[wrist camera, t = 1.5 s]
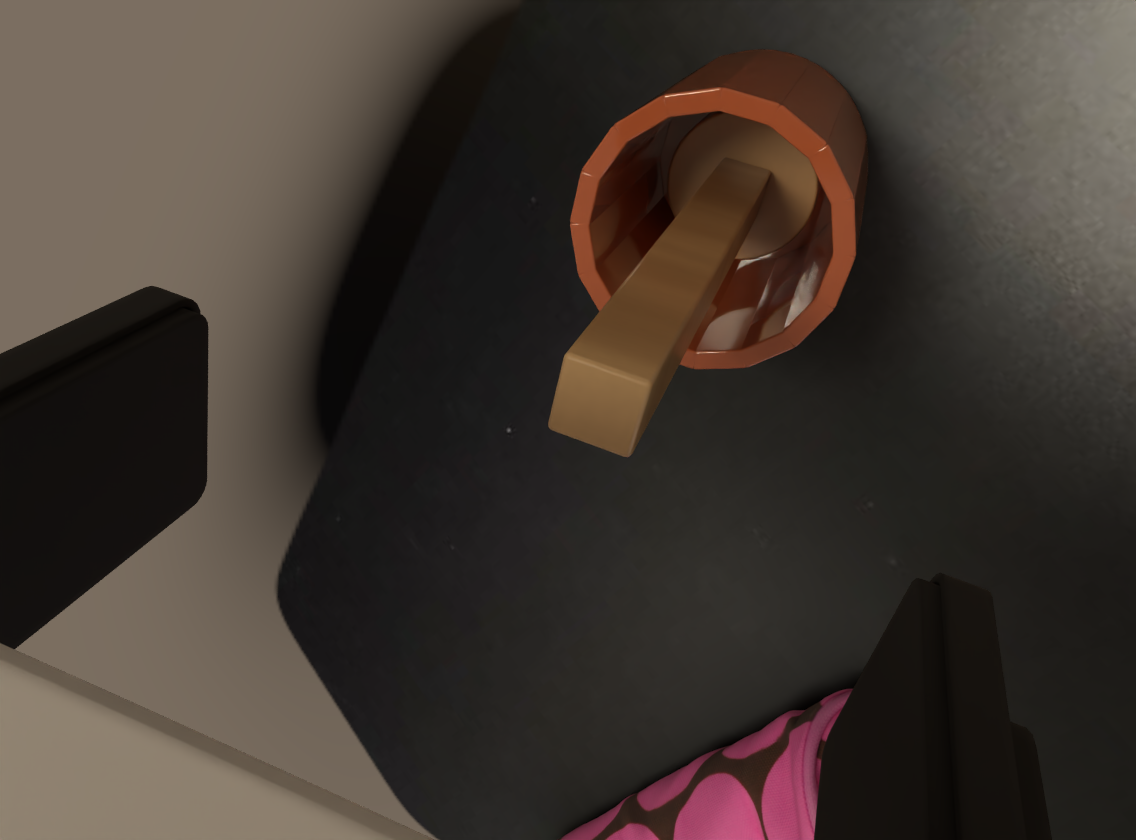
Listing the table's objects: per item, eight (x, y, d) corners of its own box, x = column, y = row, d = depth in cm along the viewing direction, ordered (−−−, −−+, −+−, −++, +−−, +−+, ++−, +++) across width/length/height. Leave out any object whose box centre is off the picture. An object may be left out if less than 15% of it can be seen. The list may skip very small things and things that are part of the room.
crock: (682, 22, 27) (606, 53, 20) (904, 84, 26) (904, 139, 19) (627, 233, 30) (547, 319, 23) (821, 295, 29) (796, 405, 22)
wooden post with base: (706, 77, 27) (492, 235, 13) (846, 118, 26) (778, 330, 12) (668, 213, 29) (451, 470, 15) (796, 254, 28) (690, 562, 14)
